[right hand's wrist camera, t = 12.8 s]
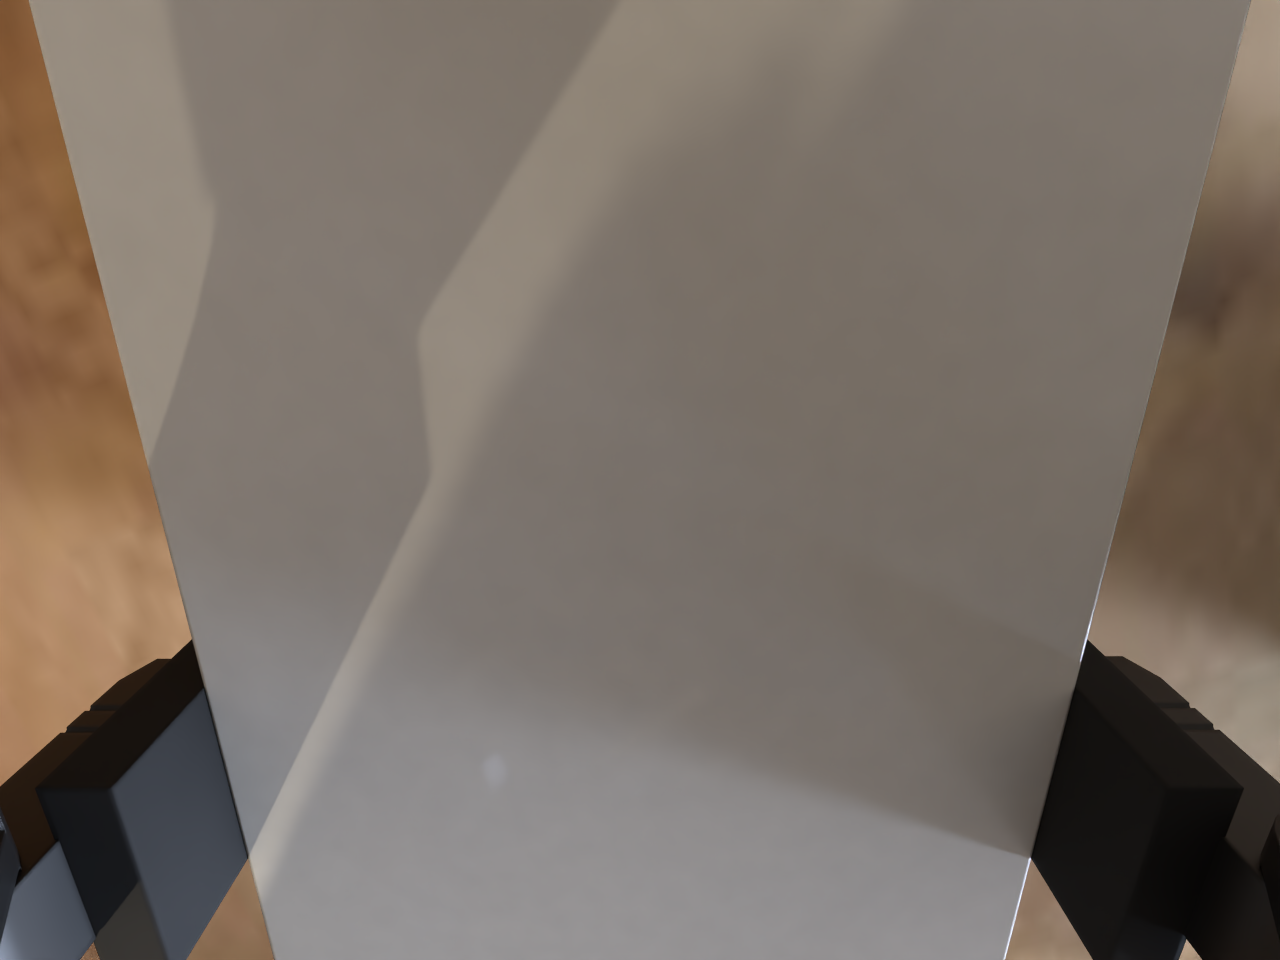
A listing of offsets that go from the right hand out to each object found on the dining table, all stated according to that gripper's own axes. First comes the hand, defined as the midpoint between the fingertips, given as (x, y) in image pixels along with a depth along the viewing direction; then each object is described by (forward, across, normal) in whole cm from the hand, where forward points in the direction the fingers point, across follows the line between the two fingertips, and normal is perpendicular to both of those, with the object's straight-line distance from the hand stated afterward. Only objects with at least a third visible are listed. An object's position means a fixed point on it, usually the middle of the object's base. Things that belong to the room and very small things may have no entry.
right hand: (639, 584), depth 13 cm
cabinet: (+5, 0, -6) cm, 7 cm away
